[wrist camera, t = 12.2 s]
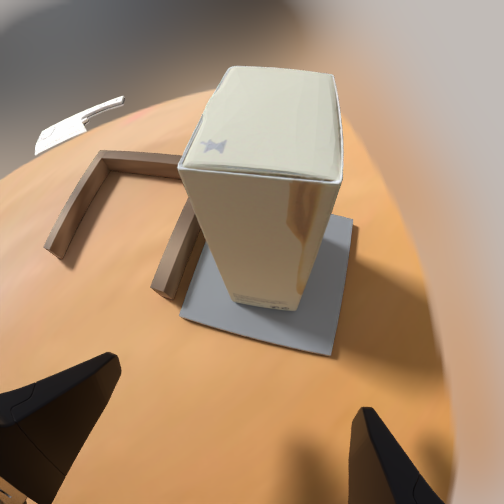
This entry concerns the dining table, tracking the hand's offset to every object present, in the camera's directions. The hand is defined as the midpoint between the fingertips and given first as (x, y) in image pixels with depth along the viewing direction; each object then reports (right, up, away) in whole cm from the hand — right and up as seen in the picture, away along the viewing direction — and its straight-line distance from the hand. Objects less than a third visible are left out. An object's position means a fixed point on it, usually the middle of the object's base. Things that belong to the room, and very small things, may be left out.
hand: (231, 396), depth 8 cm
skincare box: (+2, +4, +10) cm, 11 cm away
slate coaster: (+2, +4, +11) cm, 11 cm away
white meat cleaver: (-24, +22, +21) cm, 39 cm away
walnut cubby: (-10, +7, +13) cm, 18 cm away
